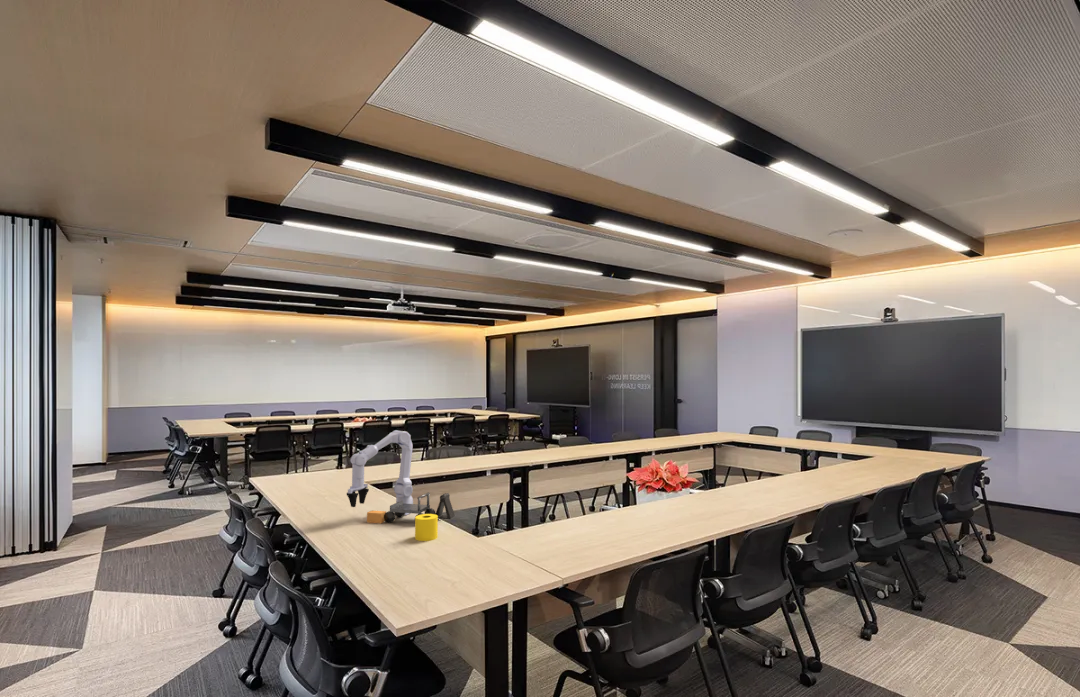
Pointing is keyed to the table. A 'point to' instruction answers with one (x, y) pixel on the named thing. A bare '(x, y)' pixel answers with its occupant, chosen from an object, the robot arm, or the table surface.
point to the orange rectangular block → (375, 516)
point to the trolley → (408, 509)
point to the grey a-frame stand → (448, 507)
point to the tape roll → (426, 527)
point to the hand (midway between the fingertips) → (357, 505)
